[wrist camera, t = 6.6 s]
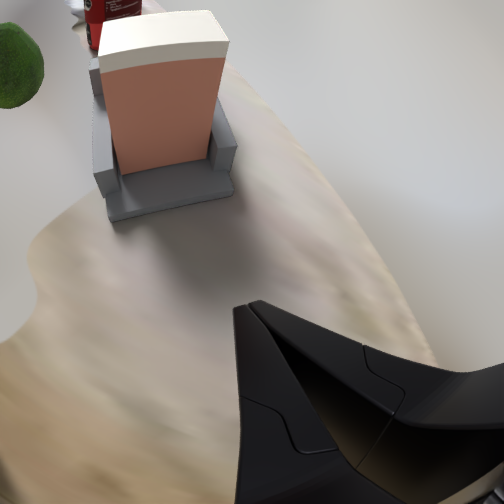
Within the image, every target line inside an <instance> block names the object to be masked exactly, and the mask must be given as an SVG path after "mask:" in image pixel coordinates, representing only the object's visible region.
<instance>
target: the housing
mask: <svg viewBox="0 0 504 504" xmlns="http://www.w3.org/2000/svg"><path fill="white" fill-rule="evenodd" d="M89 74H90V79H91V84H92V89H93V94H94V103H93V132H92V134H93V136H92V139H93V141H92V149H93V174H94V177H95V179H96V182H97V184H98V187H99V189H100V192H101V194H102V196H103V198H106V203H107V212H108V218H109V220H110V222H115V221H119V220H123V219H127V218H131V217H135V216H139V215H143V214H148V213H152V212H156V211H161V210H165V209H170V208H174V207H179V206H183V205H188V204H193V203H198V202H203V201H208V200H213V199H218V198H223V197H228V196H232V195H233V192H234V187H233V185H232V182H231V179H230V176H229V173H228V172H230V169H231V166H232V162H233V159H234V156H235V152H236V149H237V143H236V141H235V138H234V136H233V133H232V131H231V128H230V126H229V123H228V121H227V118H226V116H225V114H224V111H223V109H222V106H221V104H220V101H219V99H218V97H217V100H216V105H215V110H214V116H213V121H212V126H211V132H210V137H209V143H208V149H207V155H206V159H200V160H194V161H188V162H183V163H177V164H172V165H167V166H162V167H157V168H152V169H147V170H143V171H138V172H134V173H129V174H125V175H121V171H120V167H119V163H118V159H117V155H116V151H115V147H114V143H113V138H112V134H111V129H110V125H109V120H108V115H107V110H106V104H105V99H104V93H103V88H102V81H101V75H100V68H99V61H98V57H97V58H93V59H91V60H90V67H89Z"/></svg>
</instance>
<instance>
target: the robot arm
mask: <svg viewBox="0 0 504 504" xmlns="http://www.w3.org/2000/svg"><path fill="white" fill-rule="evenodd" d="M233 325H234V340H235V355H236V369H237V382H238V395H239V409H240V448H239V460H238V471H237V482H236V493H235V502H234V504H504V363H501V364H498V365H495V366H492V367H488V368H485V369H482V370H478V371H473V372H453V371H448V370H444V369H440V368H436V367H432V366H428V365H425V364H421V363H417V362H413V361H410V360H406V359H403V358H400V357H397V356H393V355H391V354H388V353H385V352H382V351H380V350H377V349H374V348H372V347H369V346H367V345H362V343H359V342H357V341H354V340H352V339H350V338H347V337H345V336H342V335H340V334H338V333H335V332H333V331H330V330H328V329H326V328H323V327H321V326H319V325H316V324H314V323H312V322H309V321H307V320H305V319H303V318H300V317H298V316H296V315H293V314H291V313H289V312H287V311H284V310H282V309H280V308H278V307H275V306H273V305H271V304H269V303H267V302H264V301H262V300H257V301H254V302H251V303H248V304H247V305H245V304H244V305H241V306H237V307H234V308H233Z"/></svg>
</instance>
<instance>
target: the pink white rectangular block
mask: <svg viewBox="0 0 504 504" xmlns="http://www.w3.org/2000/svg"><path fill="white" fill-rule="evenodd" d="M228 45H229V39H228V38H227V37H226V35H225V33H224V31H223V30H222V29H221V27H220V25H219V24H218V22H217V21H216V19H215V18H214V16H213V15H212V13H211V12H210V10H202V11H178V12H166V13H156V14H147V15H140V16H133V17H127V18H122V19H116V20H111V21H107V22H103V27H102V33H101V39H100V45H99V52H98V61H99V68H100V75H101V81H102V88H103V93H104V99H105V104H106V110H107V115H108V120H109V125H110V129H111V134H112V138H113V143H114V147H115V151H116V155H117V159H118V163H119V167H120V171H121V175H125V174H129V173H134V172H138V171H143V170H147V169H152V168H157V167H162V166H167V165H172V164H177V163H183V162H188V161H194V160H200V159H206V155H207V149H208V143H209V137H210V132H211V126H212V121H213V116H214V110H215V105H216V100H217V95H218V90H219V86H220V81H221V76H222V72H223V67H224V63H225V58H226V54H227V49H228Z"/></svg>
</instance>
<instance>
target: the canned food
mask: <svg viewBox="0 0 504 504" xmlns="http://www.w3.org/2000/svg"><path fill="white" fill-rule="evenodd" d="M141 8H142V0H84V11H85V22H86V31H87V39H88V44H89V45H90V47H91V48H92V49H94V50H98V51H99V45H100V39H101V33H102V27H103V22H107V21H111V20H116V19H122V18H127V17H133V16H140V15H141Z"/></svg>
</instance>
